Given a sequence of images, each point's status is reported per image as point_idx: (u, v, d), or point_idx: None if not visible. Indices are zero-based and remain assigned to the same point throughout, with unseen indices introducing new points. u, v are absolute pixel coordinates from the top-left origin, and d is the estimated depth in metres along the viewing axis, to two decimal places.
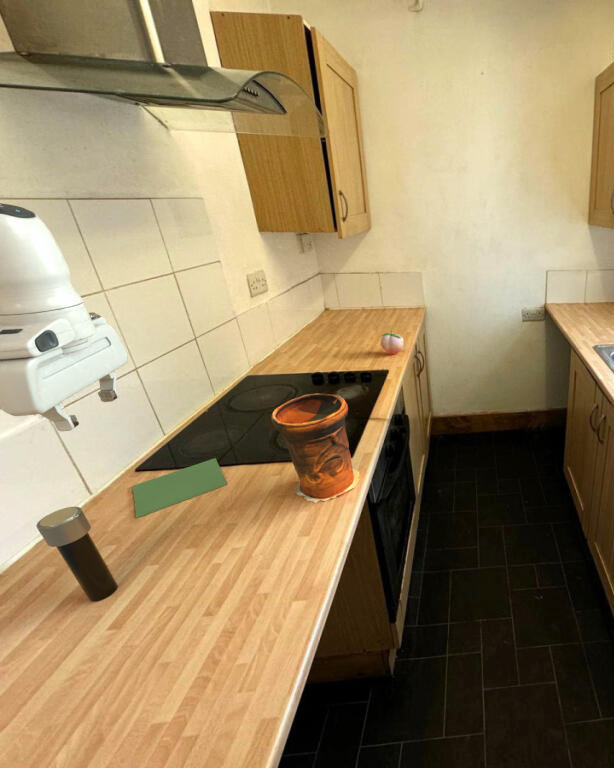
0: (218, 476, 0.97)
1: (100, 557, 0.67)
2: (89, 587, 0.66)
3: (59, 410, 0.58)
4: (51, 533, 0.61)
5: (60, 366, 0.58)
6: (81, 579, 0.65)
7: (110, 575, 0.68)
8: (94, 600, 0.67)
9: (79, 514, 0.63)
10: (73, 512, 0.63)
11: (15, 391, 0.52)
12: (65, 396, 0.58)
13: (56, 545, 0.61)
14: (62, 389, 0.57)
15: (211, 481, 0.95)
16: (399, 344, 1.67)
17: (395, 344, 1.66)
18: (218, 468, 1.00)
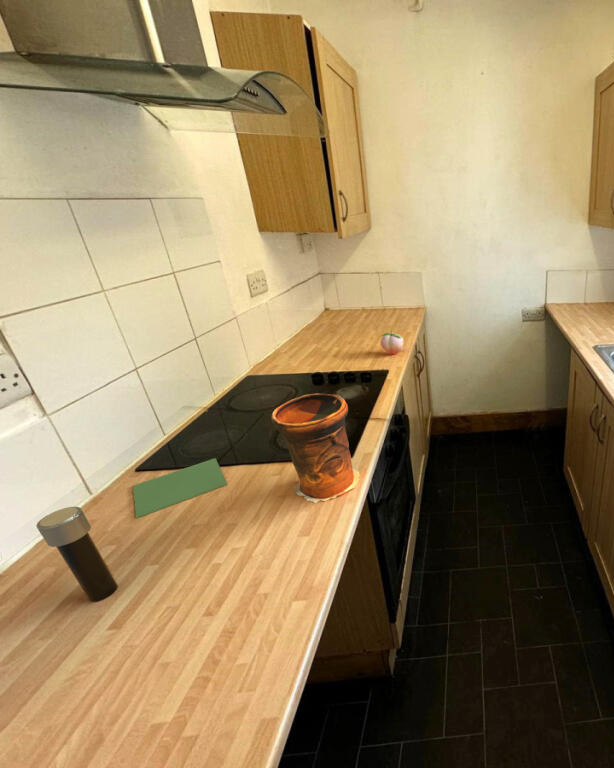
0: (218, 476, 0.97)
1: (100, 557, 0.67)
2: (89, 587, 0.66)
3: None
4: (51, 533, 0.61)
5: None
6: (81, 579, 0.65)
7: (110, 575, 0.68)
8: (94, 600, 0.67)
9: (79, 514, 0.63)
10: (73, 512, 0.63)
11: None
12: None
13: (56, 545, 0.61)
14: None
15: (211, 481, 0.95)
16: (399, 344, 1.67)
17: (395, 344, 1.66)
18: (218, 468, 1.00)
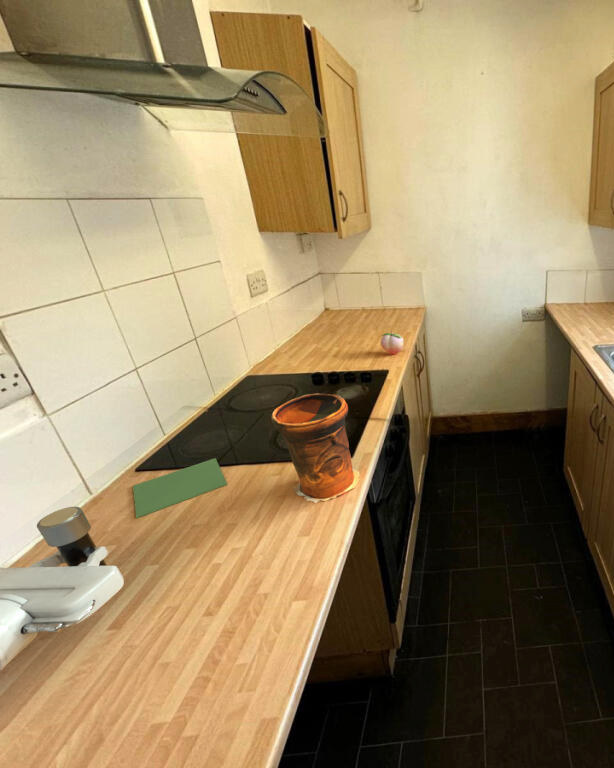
0: (218, 476, 0.97)
1: None
2: None
3: None
4: (51, 533, 0.61)
5: None
6: None
7: None
8: None
9: (79, 514, 0.63)
10: (73, 512, 0.63)
11: None
12: None
13: (56, 545, 0.61)
14: None
15: (211, 481, 0.95)
16: (399, 344, 1.67)
17: (395, 344, 1.66)
18: (218, 468, 1.00)
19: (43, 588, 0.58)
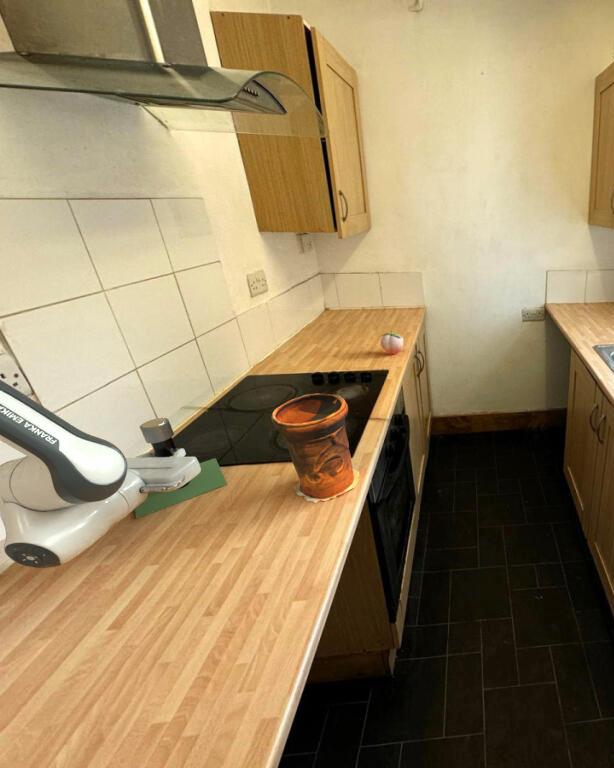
0: (218, 476, 0.97)
1: None
2: None
3: None
4: (150, 432, 0.86)
5: None
6: None
7: None
8: None
9: (167, 422, 0.88)
10: (163, 420, 0.88)
11: None
12: None
13: (153, 442, 0.87)
14: None
15: (211, 481, 0.95)
16: (399, 344, 1.67)
17: (395, 344, 1.66)
18: (218, 468, 1.00)
19: (149, 468, 0.83)
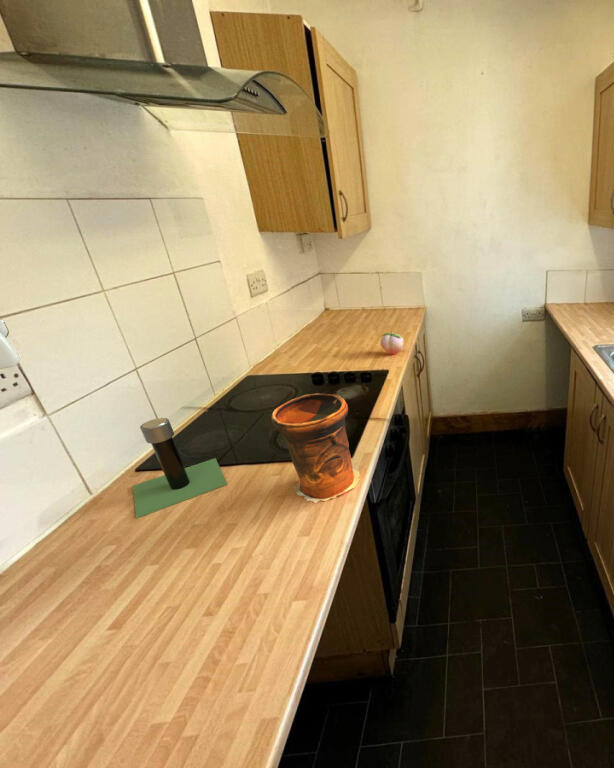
0: (218, 476, 0.97)
1: (179, 457, 0.92)
2: (172, 477, 0.91)
3: None
4: (151, 432, 0.86)
5: None
6: (167, 470, 0.90)
7: (185, 471, 0.94)
8: (175, 488, 0.92)
9: (168, 422, 0.88)
10: (163, 420, 0.88)
11: None
12: None
13: (153, 442, 0.87)
14: None
15: (211, 481, 0.95)
16: (399, 344, 1.67)
17: (395, 344, 1.66)
18: (218, 468, 1.00)
19: None
